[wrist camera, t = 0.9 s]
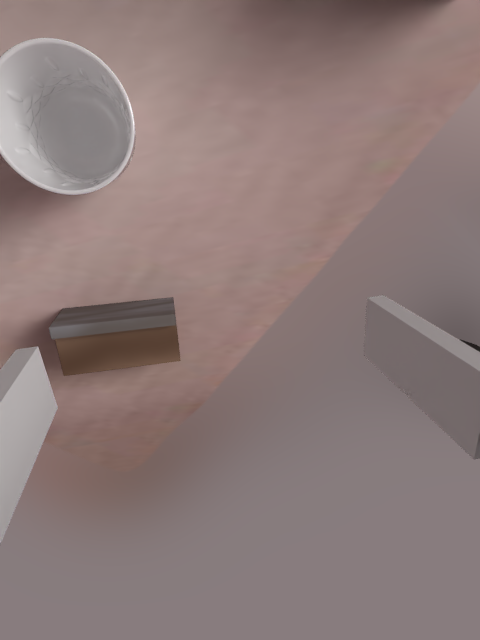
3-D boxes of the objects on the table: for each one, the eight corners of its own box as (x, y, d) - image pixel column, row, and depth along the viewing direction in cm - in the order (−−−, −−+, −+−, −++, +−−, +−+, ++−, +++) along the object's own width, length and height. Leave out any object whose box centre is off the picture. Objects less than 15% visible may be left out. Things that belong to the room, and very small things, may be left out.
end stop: (62, 308, 35) (48, 327, 30) (173, 297, 37) (175, 314, 32) (73, 355, 37) (61, 380, 32) (178, 343, 38) (180, 364, 34)
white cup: (90, 209, 32) (63, 222, 23) (14, 124, 29) (-52, 101, 20) (161, 149, 32) (162, 138, 23) (92, 57, 29) (60, 1, 20)
